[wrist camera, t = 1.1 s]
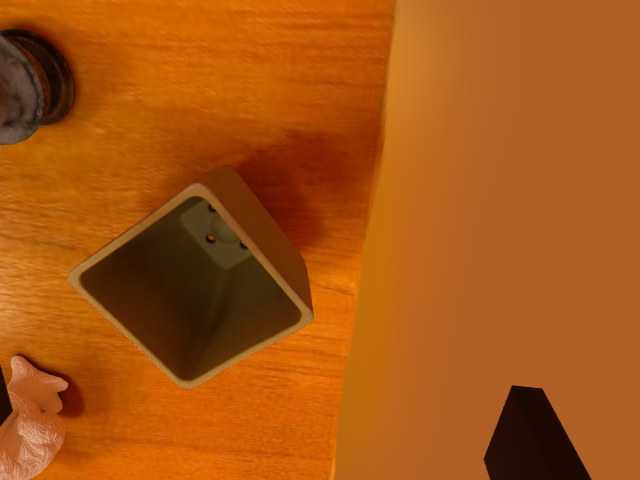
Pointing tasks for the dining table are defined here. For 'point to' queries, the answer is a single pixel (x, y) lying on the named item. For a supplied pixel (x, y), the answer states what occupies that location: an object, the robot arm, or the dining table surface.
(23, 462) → the pink animal figurine
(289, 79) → the dining table surface
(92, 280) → the flower pot
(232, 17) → the dining table surface
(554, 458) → the robot arm
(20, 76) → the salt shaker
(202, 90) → the dining table surface
